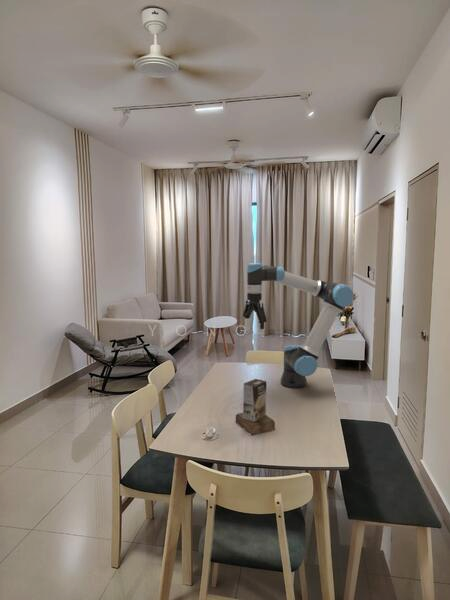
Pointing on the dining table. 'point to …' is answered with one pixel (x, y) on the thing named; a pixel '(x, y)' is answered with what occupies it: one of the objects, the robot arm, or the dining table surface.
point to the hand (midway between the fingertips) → (254, 332)
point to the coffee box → (254, 400)
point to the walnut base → (255, 424)
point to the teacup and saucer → (210, 431)
